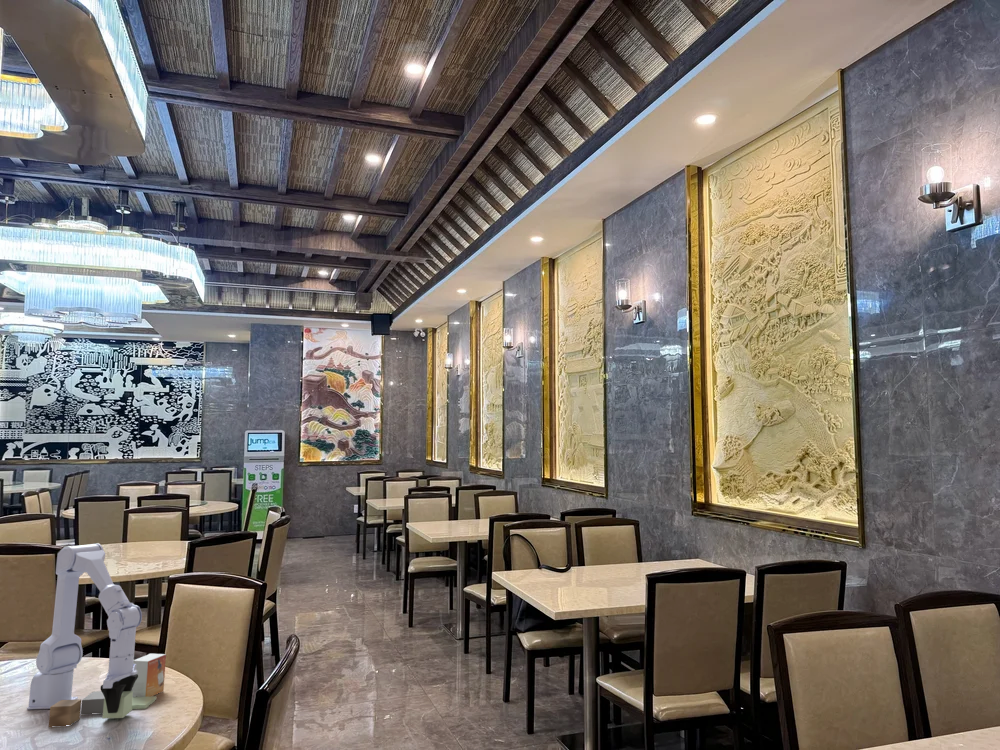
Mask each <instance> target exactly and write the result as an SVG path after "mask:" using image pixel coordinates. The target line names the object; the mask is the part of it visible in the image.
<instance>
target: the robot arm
mask: <svg viewBox="0 0 1000 750" xmlns="http://www.w3.org/2000/svg"><path fill="white" fill-rule="evenodd" d="M105 558H106V552H105V551H104V547H103V546H102V544H101V543H99V542H97V543H89V544H82V545H71V546H70V545H67V546H64V547H62V548H61V549H60V550H59V551H58V552H57V557H56V565H55V574H56V575H57V578H56V579H57V580H56V588H55V590H56V591H55V600H54V609H53V618H52V620H53V622H52V628H51V629H52V630H51V635H50V636H49V637H48V638H46V639H45V640H44V641H43V642H41V644H40V646H39V651H38V654H37V656H36V659H35V664H36V668H37V670H38V671H36V673H34V675H33V676H32V679H31V681H30V682H31V683H30V689H29V699H28V706H27V707H26V710H44V709H46V710H47V709H49V710H50V707H51V706H53V705H54V704H56V703H57V702H59V701H61V700H78V698H79V697H78V696H73V695H72V694H73V683H74V671H75V670H74V669H77V666H78V664H79V663H80V662H81V660H82V659H83V655H84V654H83V653H84V652H83V651H84V649H83V647H82V638H81V637H80V636H79V635H77V634H75V625H76V615H77V604H78V603H77V602H78V593H79V583H80V582H79V581H80V577H81V576H82V575H83V574H84V573H85V574H87V575H88V576H89V578H90V579H91V580H92V582H93V584H95V586H96V588H97V589H98V590H99V593H98V600H99V602H100V604H101V606H102V608H103V609H104V611H105V613H106V614H107V617H108V618H107V619H106V625H107V628H108V637H109V639H110V647H109V657H108V658H109V659H108V669H107V670H108V671H107V673H106V676H105V679H103V681H102V684H101V685H100V691H102V693H103V695H104V697H105V700H106V705H107V711H108V713H117V711H118V708H119V704H120V699H121V695H122V692H123V691H131V690H132V688H133V685H134V683H135V681H136V680H137V678H138V674H137V670H136V664H133V661H134V660H135V646H136V635H137V634H136V633H137V627H138V626H141V623H142V620H143V612H142V610H141V607H140V606H139V605H137V604H134V602H130V600H129V599H128V597H127V595H126V593H125V592H124V589H122V586H121V585H119V584H114V582H113V579H112V577H111V575H110V573H109V571H108V568H107V566H106V564H105Z"/></svg>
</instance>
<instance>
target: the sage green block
mask: <svg viewBox="0 0 1000 750" xmlns="http://www.w3.org/2000/svg"><path fill="white" fill-rule="evenodd" d="M132 698H133V691H123V692H122V695H121V699H120V704H119V708H118V711H117V713H108V711H107V705H106V700H105V698H104V707H103V714H102V719H123V718H125V717H126V716H127V715H128V714H129V713H131V712H132V710H133V709H132Z"/></svg>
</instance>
